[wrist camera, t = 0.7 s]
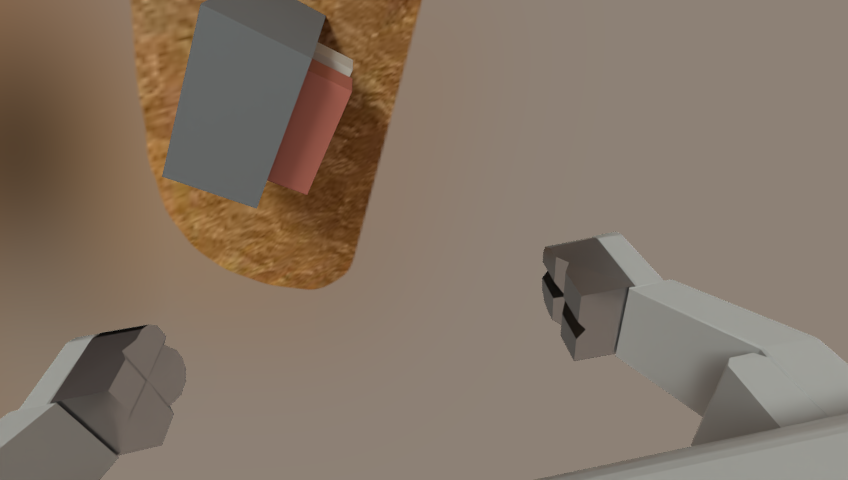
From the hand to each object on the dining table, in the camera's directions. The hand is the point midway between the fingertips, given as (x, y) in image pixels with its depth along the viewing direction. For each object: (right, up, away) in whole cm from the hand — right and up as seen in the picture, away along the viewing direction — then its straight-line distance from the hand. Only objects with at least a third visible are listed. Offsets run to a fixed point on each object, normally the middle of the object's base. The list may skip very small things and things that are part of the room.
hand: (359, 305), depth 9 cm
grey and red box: (-14, +20, +34) cm, 42 cm away
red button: (-9, +12, +28) cm, 31 cm away
